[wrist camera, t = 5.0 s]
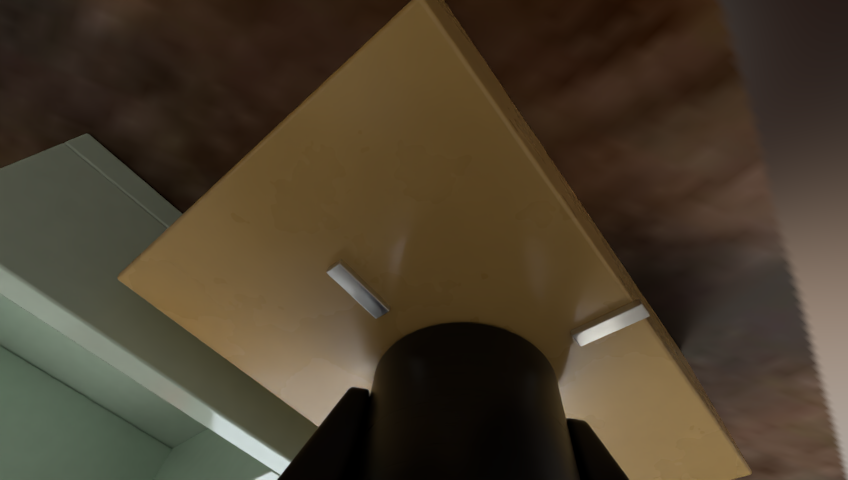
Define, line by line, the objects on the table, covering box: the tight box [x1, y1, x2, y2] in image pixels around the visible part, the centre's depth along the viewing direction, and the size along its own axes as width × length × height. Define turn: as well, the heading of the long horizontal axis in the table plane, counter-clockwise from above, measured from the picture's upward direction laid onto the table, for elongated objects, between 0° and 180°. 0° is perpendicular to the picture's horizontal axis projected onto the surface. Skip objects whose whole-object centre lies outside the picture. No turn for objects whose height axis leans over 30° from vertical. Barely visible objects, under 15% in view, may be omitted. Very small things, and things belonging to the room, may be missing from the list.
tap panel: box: [117, 0, 752, 480], centre depth 11 cm, size 13×8×4 cm, turn 39°
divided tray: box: [0, 133, 318, 480], centre depth 15 cm, size 10×19×4 cm, turn 39°
